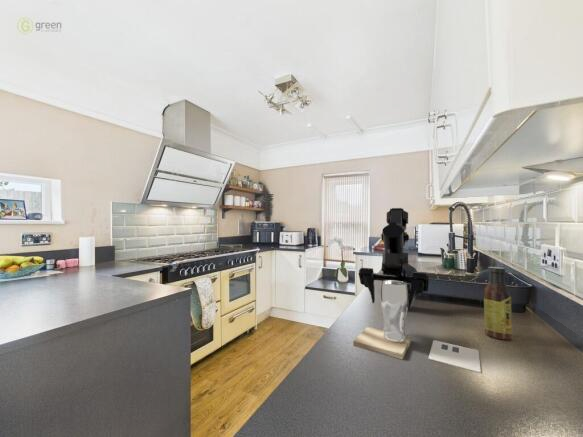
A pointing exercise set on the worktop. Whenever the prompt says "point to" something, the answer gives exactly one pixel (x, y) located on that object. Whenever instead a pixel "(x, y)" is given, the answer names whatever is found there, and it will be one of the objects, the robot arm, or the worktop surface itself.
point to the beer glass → (394, 309)
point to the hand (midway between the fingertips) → (390, 305)
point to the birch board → (381, 343)
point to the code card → (455, 356)
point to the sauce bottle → (497, 305)
